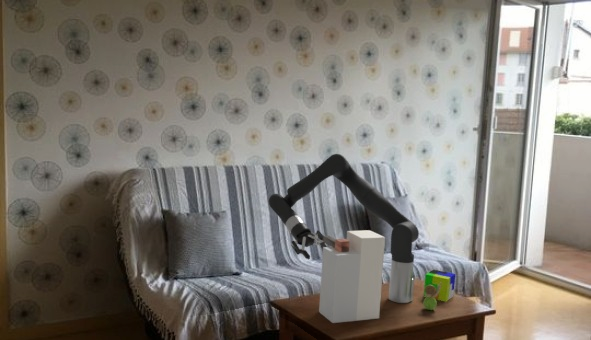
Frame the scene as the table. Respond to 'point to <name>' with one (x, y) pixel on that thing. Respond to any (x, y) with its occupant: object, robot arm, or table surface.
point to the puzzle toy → (446, 284)
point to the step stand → (353, 278)
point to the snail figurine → (431, 296)
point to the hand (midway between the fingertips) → (317, 254)
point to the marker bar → (337, 243)
